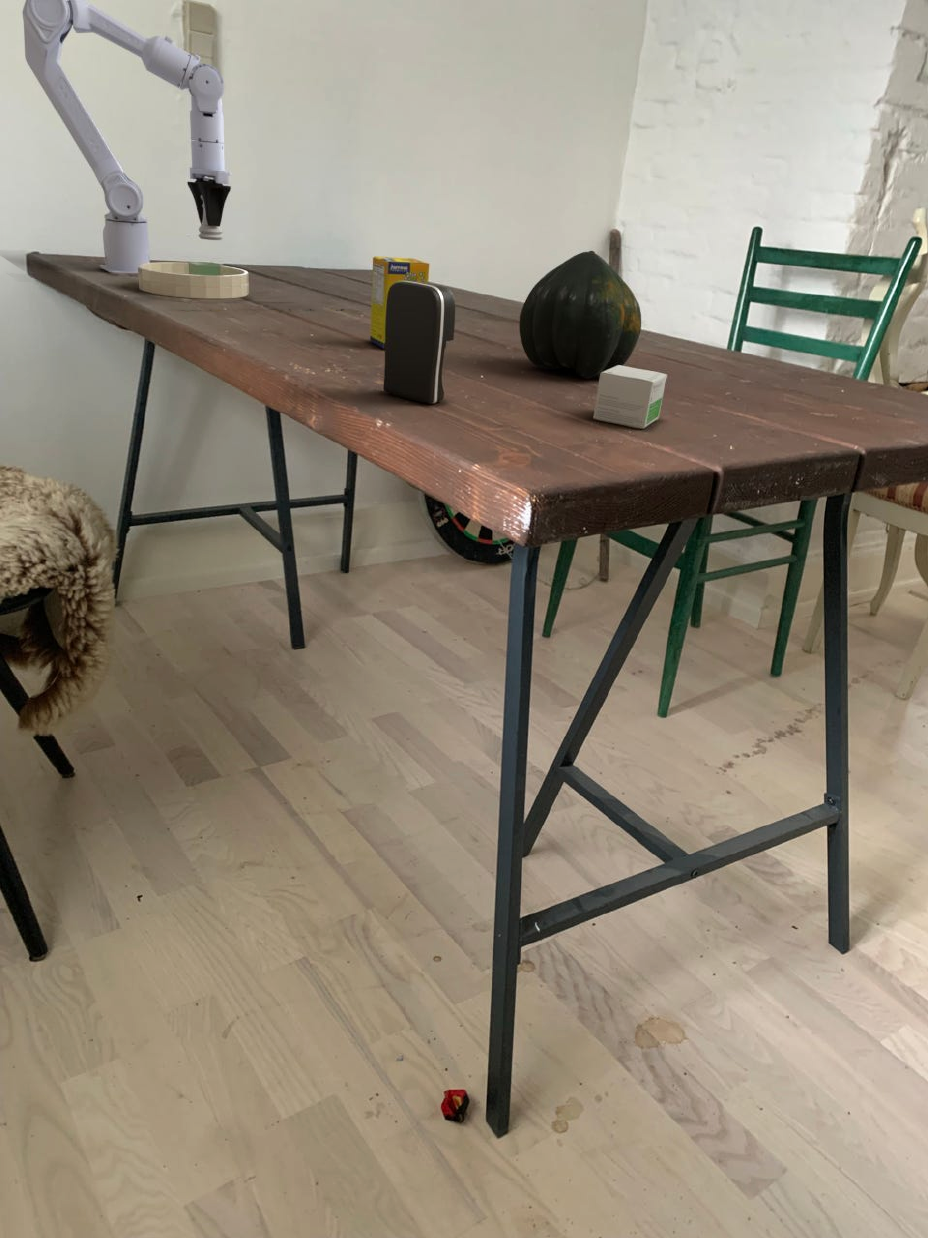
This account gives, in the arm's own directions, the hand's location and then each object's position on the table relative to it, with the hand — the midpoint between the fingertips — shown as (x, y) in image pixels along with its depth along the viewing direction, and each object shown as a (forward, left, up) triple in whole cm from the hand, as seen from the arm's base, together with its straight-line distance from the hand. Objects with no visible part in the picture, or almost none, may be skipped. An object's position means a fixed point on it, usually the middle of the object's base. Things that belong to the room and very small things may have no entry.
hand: (210, 224), depth 168 cm
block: (+21, -9, -9) cm, 24 cm away
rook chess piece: (0, 0, -3) cm, 3 cm away
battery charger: (+96, -12, -9) cm, 97 cm away
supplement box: (+69, +1, -9) cm, 70 cm away
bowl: (+23, -11, -9) cm, 27 cm away
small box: (+110, +5, -9) cm, 110 cm away
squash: (+88, +16, -9) cm, 90 cm away
